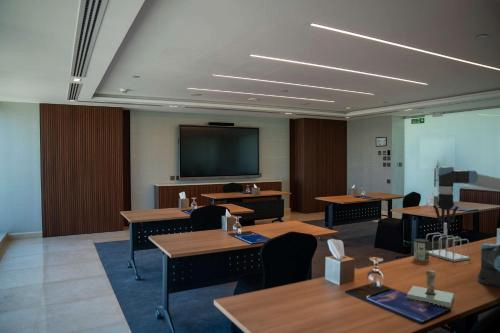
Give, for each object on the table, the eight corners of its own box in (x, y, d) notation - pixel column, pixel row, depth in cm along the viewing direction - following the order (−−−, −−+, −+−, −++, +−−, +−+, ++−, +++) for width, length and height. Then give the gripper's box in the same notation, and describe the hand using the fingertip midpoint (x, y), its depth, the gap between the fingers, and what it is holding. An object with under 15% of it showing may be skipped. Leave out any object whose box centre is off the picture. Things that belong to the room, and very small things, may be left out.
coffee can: (425, 257, 267) (425, 238, 266) (431, 261, 256) (432, 241, 256) (411, 257, 267) (411, 238, 267) (417, 261, 256) (417, 241, 256)
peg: (436, 297, 189) (436, 270, 188) (434, 300, 185) (434, 273, 185) (426, 296, 191) (426, 269, 191) (424, 298, 188) (425, 271, 187)
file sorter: (470, 259, 260) (470, 238, 260) (453, 262, 253) (453, 240, 253) (440, 251, 283) (441, 232, 283) (424, 253, 277) (424, 233, 276)
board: (453, 298, 188) (453, 293, 188) (450, 307, 176) (450, 302, 176) (413, 290, 200) (413, 285, 200) (407, 298, 188) (407, 293, 188)
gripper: (459, 193, 203) (459, 234, 203) (434, 192, 211) (433, 232, 211) (458, 194, 197) (457, 237, 197) (432, 193, 205) (431, 234, 205)
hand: (445, 234), depth 204 cm, fingers closed
